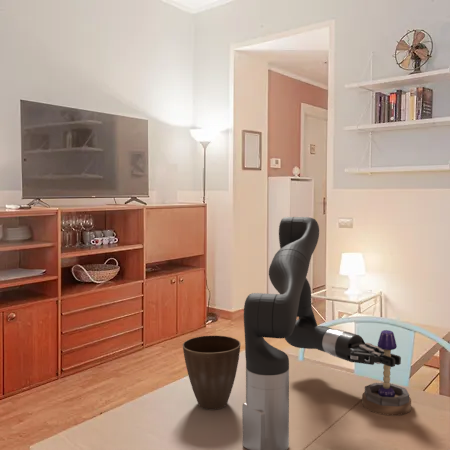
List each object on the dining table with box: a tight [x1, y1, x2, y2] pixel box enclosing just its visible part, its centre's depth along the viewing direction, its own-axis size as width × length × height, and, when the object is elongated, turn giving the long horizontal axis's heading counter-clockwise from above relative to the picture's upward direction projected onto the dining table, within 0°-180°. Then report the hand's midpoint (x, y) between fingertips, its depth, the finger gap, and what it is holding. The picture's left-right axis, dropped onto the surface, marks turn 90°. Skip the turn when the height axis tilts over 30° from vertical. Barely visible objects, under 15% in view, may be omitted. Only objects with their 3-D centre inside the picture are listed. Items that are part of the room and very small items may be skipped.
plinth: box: [361, 382, 412, 416], centre depth 131 cm, size 12×12×4 cm
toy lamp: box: [377, 329, 398, 397], centre depth 130 cm, size 5×5×17 cm
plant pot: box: [182, 335, 241, 411], centre depth 132 cm, size 15×15×16 cm
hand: (396, 361), depth 128 cm, fingers closed on toy lamp
